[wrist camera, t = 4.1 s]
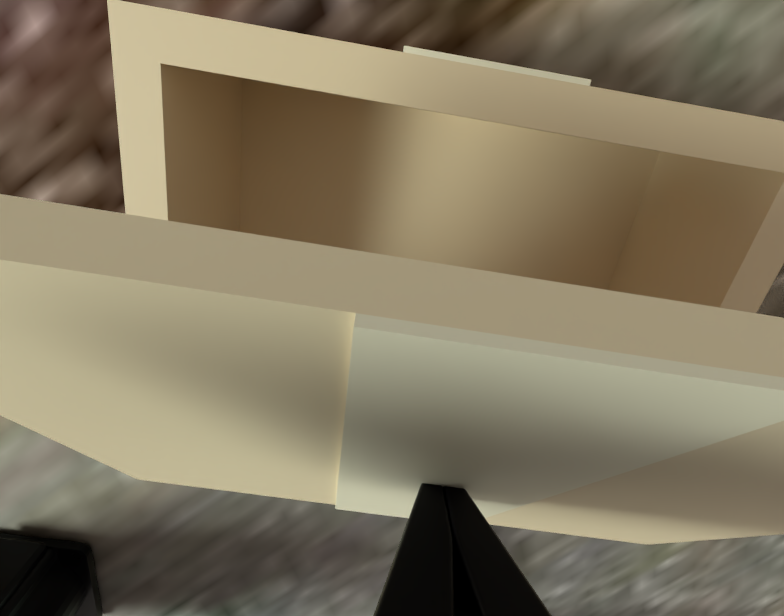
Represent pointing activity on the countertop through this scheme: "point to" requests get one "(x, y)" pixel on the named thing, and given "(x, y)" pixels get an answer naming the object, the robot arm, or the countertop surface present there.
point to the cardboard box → (444, 159)
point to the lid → (387, 379)
